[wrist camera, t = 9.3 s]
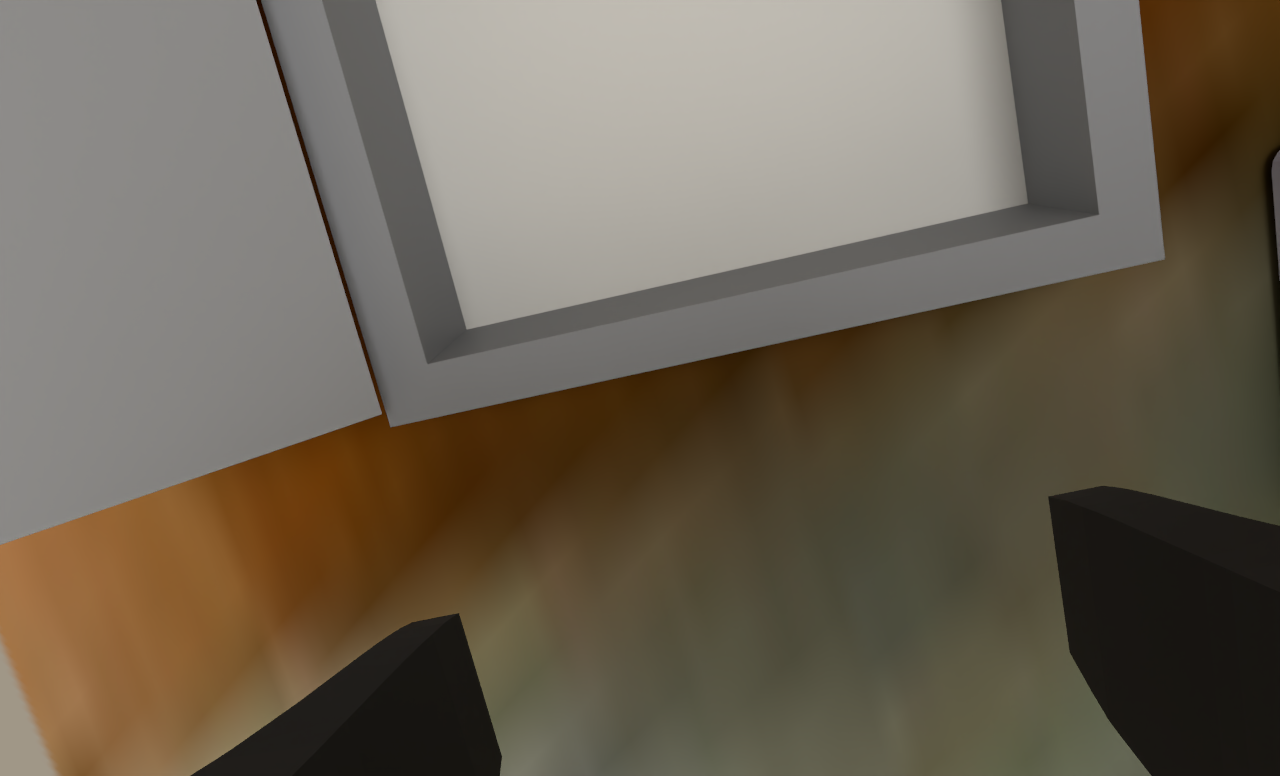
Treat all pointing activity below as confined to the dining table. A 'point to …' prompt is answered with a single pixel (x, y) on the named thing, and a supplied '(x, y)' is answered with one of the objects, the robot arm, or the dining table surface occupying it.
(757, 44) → the gray open box
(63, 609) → the dining table surface
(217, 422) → the carton flap
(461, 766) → the robot arm
